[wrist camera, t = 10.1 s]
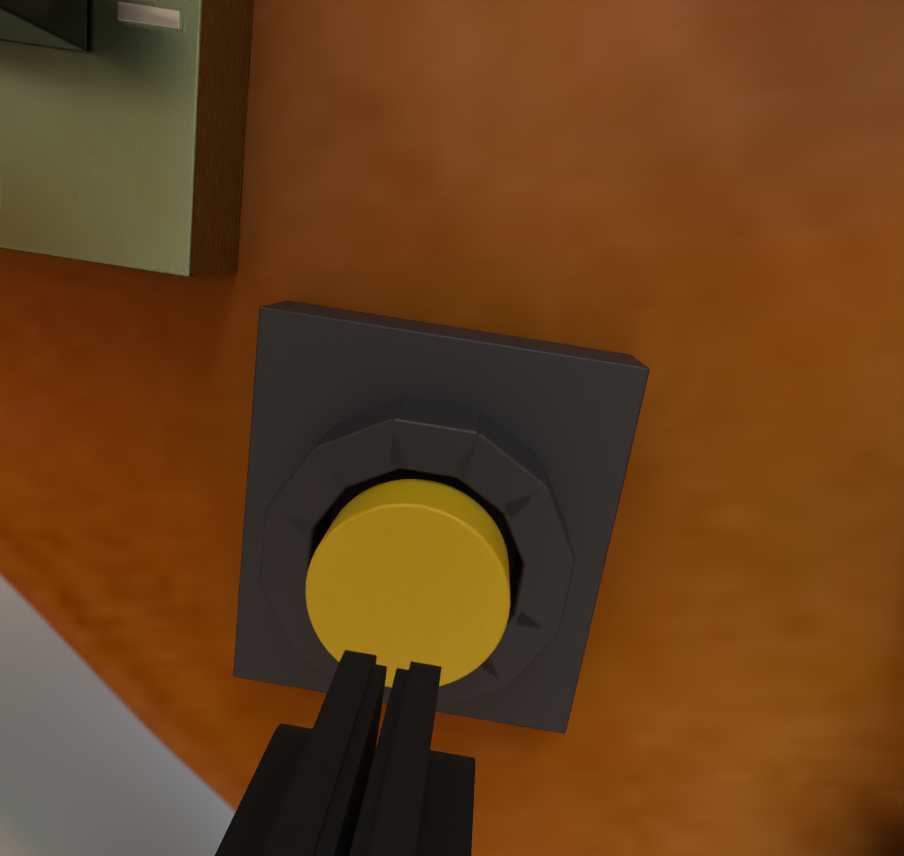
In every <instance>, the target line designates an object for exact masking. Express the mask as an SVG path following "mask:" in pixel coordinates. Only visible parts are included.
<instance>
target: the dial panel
mask: <svg viewBox="0 0 904 856" xmlns="http://www.w3.org/2000/svg"><path fill="white" fill-rule="evenodd" d="M252 9H253V0H87V50H85V51H79V50H73V49H66V48H59V47H53V46H46V45H39V44H33V43H26V42H19V41H12V40H6V39H0V248H5V249H11V250H18V251H24V252H31V253H37V254H43V255H50V256H56V257H62V258H69V259H75V260H81V261H88V262H94V263H100V264H107V265H113V266H119V267H126V268H132V269H138V270H145V271H151V272H157V273H164V274H170V275H177V276H183V277H201V276H217V275H233V274H236V267H237V251H238V235H239V219H240V203H241V187H242V170H243V154H244V138H245V122H246V106H247V90H248V74H249V57H250V41H251V25H252Z"/></svg>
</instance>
